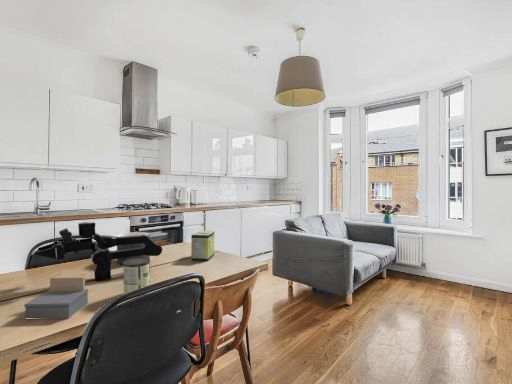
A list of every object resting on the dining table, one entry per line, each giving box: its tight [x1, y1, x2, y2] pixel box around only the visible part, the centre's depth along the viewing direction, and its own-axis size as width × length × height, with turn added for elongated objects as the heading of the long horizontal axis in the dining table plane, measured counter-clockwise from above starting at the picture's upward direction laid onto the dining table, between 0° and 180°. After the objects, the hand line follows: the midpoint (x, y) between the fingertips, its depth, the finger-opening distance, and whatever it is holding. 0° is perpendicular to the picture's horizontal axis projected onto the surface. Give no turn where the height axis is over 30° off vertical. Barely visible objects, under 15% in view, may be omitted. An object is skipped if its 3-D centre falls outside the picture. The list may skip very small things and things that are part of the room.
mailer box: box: [24, 292, 89, 319], centre depth 100 cm, size 12×14×4 cm
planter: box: [116, 231, 151, 266], centre depth 164 cm, size 18×18×16 cm
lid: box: [24, 276, 89, 308], centre depth 100 cm, size 12×14×6 cm
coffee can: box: [123, 258, 151, 295], centre depth 115 cm, size 10×10×14 cm
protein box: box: [190, 230, 215, 262], centre depth 173 cm, size 10×16×16 cm
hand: (36, 251), depth 119 cm, fingers open, 9 cm apart
